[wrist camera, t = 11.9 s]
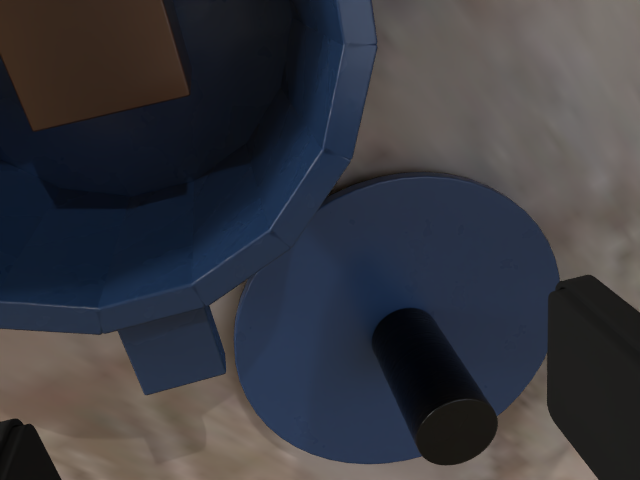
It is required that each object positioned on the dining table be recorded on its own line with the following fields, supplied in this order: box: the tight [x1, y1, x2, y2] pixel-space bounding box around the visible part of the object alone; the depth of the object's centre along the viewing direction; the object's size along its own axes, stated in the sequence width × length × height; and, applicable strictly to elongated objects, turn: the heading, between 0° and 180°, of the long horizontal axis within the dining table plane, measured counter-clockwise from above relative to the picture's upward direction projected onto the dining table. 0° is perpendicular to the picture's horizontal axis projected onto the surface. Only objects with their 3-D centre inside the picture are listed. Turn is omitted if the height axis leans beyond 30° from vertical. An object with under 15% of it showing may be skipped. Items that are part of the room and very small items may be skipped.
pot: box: [0, 0, 377, 395], centre depth 16 cm, size 14×19×8 cm
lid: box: [234, 172, 560, 465], centre depth 24 cm, size 15×15×7 cm
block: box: [0, 0, 192, 132], centre depth 17 cm, size 4×4×4 cm
